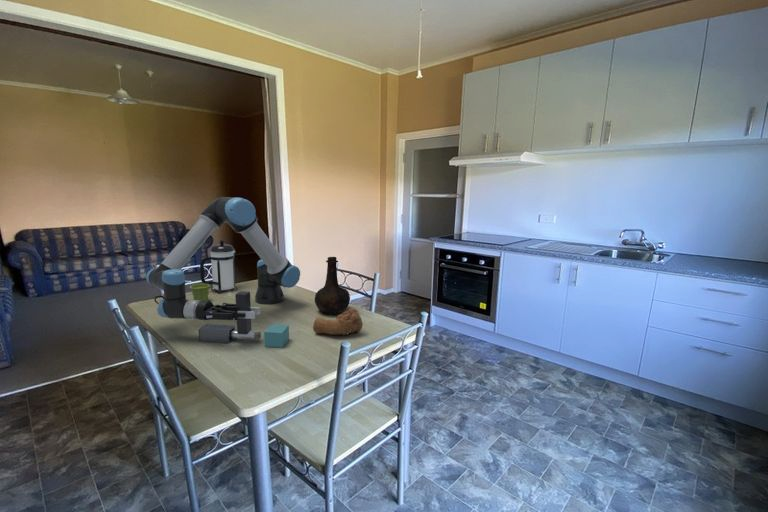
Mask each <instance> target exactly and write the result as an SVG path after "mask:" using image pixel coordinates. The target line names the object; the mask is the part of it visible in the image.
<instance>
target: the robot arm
mask: <svg viewBox="0 0 768 512" xmlns="http://www.w3.org/2000/svg"><path fill="white" fill-rule="evenodd" d="M256 212H257V211H256V208H255V206H254V204H253V203H252V202H251V201H250V200H248V199H245V198H243V197H229V196H221V197H219V198H216V199H214V200H212V201H211V203H209V204H208V205H207V206H206V207H205V208H204V209H203V211H202V212H201V213H200V214H199V216H198V217H199V219H198V220H197V221H196V223H195V224H194V225H192V227H191V229H190V230H189V231H188V232H187V233H186V234H185V235H184V236H183V237H182V239H181V240H180V241H179V242H178V243H177V244H176V246H175V247H173V249H172V250H171V251H170V252H169V254H168V255H167V256H166V257H165V258H164V260H163V261H162V262H160V264H159V265H158V266H157V268H152V269H150V270H149V271H147V273H146V276H145V280H146V281H147V284H149V285H150V286H151V287H152V288H156V289H159V290H161V291H163V293H164V299H163V298H162V299H161V300H160V301H159V302H158V303H159V304H158V305H157V306H158V307H157V309H156V310H157V314H158V315H159V317H162V318H165V319H166V318H167V319H183V320H184V319H185V320H186V319H187V320H192V321H195V320H198V321H199V320H200V321H210V320H214V321H215V320H216V321H217V320H218V321H233V320H234V321H237V317H238V318H247V319H251V320H254V319H256V315H261V307H258V306H251V311H237V312H238V313H237V312H236V303H228V302H223V303H222V304H221V305H220V304H213V302H212V301H210V300H208V301H200V300H194V299H187V293H186V291H187V290H186V277H185V272H184V271H183V270H182V269H183V268H184V266H185V265H186V264H187V263H188V262H189V260H190V259H191V258H192V257H193V256H194V255H195V254H196V252H197V251H198V250H199V248H200V247H201V246H202V245H203V244H204V243H205V242H206V240H207V239H208V238H209V237H210V236H211V234H212V233H213V232H214V231H215V230H218V229H220V227H222V226H223V225H224V224H228V225H229V227H231V228H232V230H233V231H234V233H238V234H241V236H242V237H243V238H244V239H245V241H246V242H247V243H248V244H249V246H250V247H251V248H252V249H253V251H254V252H255V253H256V254H257V255H258V257H259V260H258V261H257V263H256V269H257V270H256V271H257V273H256V274H257V289H256V292H255V296H254V302H255V303H257V304H262V305H272V304H278V303H281V302H283V301H284V299H285V295H284V292H283V289H282V287H283V288H288V289H290V288H293V287H295V286H296V285H297V284H298V283H299V281H300V278H301V277H300V276H301V270H300V268H299V267H298V266H296V265H293V264H292V263H291V262H290V260H289V259H288V258H287V257H285V256H282V255H281V253H280V252H279V251H278V250H277V249H278V248H276V246H275V245H274V244H273V243H272V241H271V240H270V239H269V237H268V235H267V234H266V233H265V232H264V231H263V230H262V228H261V227H260V225H259V223H258V217H257V214H256ZM282 300H283V301H282Z"/></svg>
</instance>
